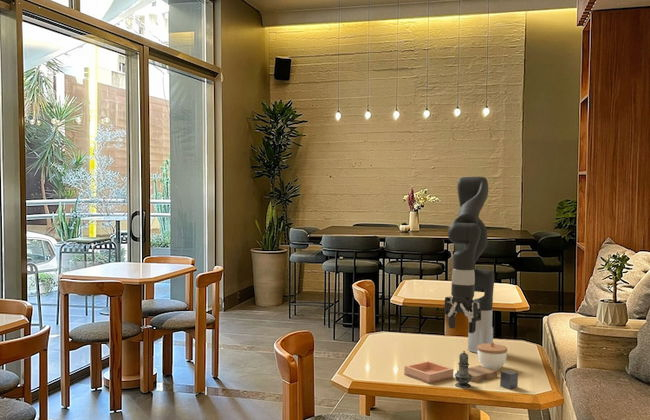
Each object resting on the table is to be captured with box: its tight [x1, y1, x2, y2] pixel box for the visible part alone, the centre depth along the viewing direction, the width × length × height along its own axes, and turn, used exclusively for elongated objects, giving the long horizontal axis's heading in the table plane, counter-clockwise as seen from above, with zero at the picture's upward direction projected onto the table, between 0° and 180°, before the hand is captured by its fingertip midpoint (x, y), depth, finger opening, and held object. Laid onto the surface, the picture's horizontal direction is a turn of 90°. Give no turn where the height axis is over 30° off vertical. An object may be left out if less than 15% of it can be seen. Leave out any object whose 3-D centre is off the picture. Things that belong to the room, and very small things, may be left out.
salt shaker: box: [454, 350, 472, 389], centre depth 214 cm, size 6×6×12 cm
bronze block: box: [456, 364, 498, 383], centre depth 224 cm, size 12×8×2 cm, turn 126°
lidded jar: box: [477, 341, 508, 371], centre depth 235 cm, size 11×11×9 cm
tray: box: [403, 360, 454, 384], centre depth 224 cm, size 12×12×3 cm
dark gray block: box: [499, 369, 519, 390], centre depth 213 cm, size 4×4×5 cm
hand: (461, 330), depth 213 cm, fingers open, 8 cm apart
